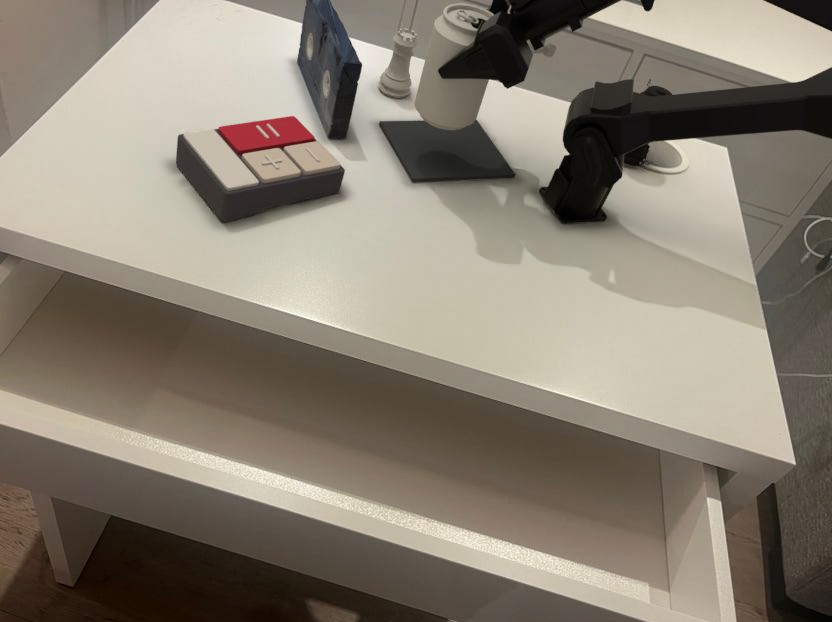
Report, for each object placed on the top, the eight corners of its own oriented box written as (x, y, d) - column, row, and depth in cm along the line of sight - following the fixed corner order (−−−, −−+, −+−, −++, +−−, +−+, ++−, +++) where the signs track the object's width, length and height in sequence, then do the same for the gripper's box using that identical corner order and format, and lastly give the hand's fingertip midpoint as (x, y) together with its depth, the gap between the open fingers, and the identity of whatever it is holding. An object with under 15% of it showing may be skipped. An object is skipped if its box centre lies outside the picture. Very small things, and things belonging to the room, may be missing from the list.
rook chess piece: (379, 78, 105) (392, 21, 99) (410, 86, 105) (425, 29, 99) (375, 94, 101) (388, 36, 96) (408, 102, 102) (423, 45, 96)
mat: (475, 123, 101) (476, 119, 101) (514, 177, 94) (516, 174, 94) (378, 124, 97) (379, 121, 96) (412, 182, 90) (413, 178, 89)
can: (466, 141, 86) (499, 39, 78) (404, 120, 87) (430, 17, 78) (480, 111, 92) (512, 12, 83) (421, 92, 92) (447, -8, 83)
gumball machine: (658, 172, 102) (697, 105, 94) (622, 175, 100) (659, 106, 92) (630, 143, 106) (665, 76, 98) (595, 145, 103) (629, 77, 96)
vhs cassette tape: (347, 140, 93) (363, 63, 86) (323, 139, 92) (338, 62, 85) (317, 62, 104) (329, -11, 97) (296, 61, 103) (306, -13, 96)
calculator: (348, 164, 83) (226, 188, 75) (340, 196, 86) (222, 222, 78) (295, 110, 88) (176, 127, 80) (289, 143, 91) (174, 162, 83)
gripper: (558, -118, 78) (429, -37, 87) (534, -62, 66) (387, 26, 75) (601, -17, 83) (475, 49, 92) (586, 52, 71) (443, 121, 80)
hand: (447, 59), depth 85 cm, fingers closed on can, 7 cm apart
